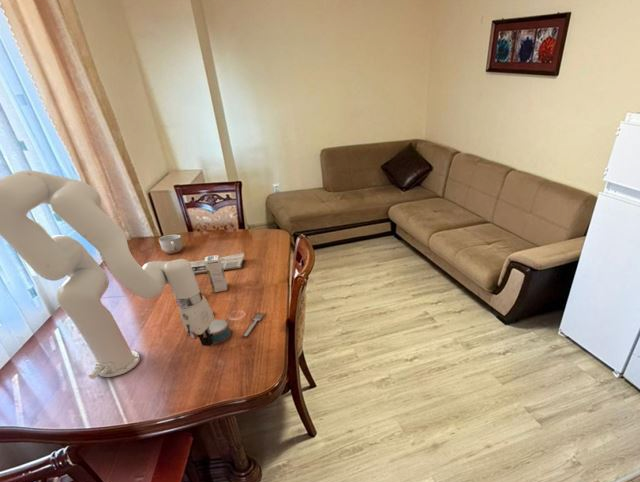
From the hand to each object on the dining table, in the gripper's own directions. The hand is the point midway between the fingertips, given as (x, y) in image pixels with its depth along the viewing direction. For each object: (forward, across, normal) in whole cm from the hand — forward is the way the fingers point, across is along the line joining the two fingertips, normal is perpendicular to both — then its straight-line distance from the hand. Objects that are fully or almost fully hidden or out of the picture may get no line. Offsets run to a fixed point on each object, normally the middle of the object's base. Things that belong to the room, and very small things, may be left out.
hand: (207, 344), depth 132 cm
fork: (+2, +15, -10) cm, 18 cm away
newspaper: (+2, +61, +34) cm, 70 cm away
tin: (+2, +7, 0) cm, 7 cm away
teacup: (+2, +78, +64) cm, 101 cm away
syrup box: (+2, +41, +17) cm, 44 cm away
